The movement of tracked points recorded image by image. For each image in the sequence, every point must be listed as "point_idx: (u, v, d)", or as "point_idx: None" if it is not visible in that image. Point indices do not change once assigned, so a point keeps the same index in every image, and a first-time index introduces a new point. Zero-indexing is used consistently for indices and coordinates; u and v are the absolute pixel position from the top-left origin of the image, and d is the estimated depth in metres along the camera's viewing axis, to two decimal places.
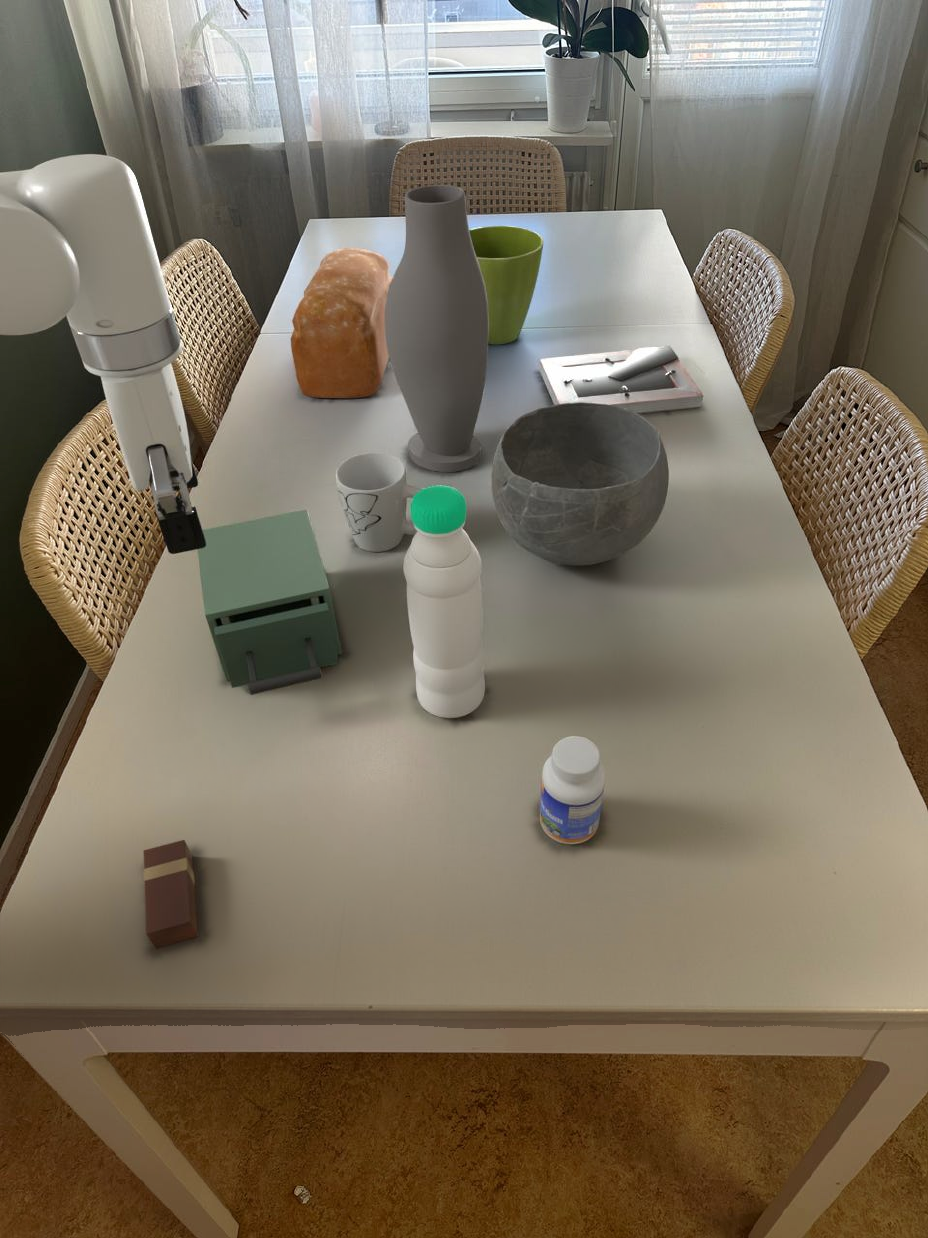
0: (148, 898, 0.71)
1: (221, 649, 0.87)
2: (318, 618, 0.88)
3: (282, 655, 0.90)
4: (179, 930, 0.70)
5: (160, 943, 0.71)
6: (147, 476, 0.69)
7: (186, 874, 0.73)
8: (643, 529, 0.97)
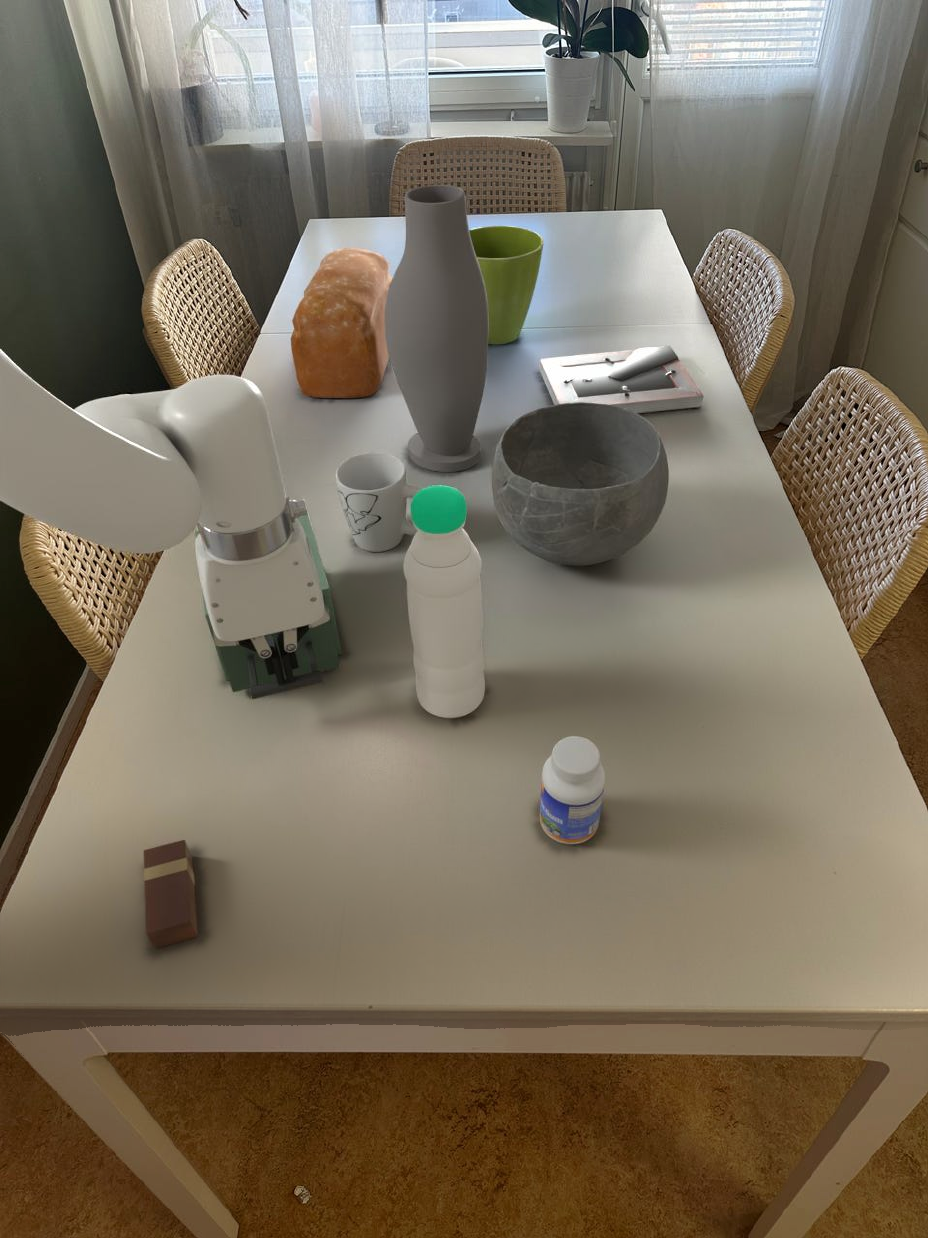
0: (148, 898, 0.71)
1: (222, 653, 0.86)
2: None
3: None
4: (179, 930, 0.70)
5: (160, 943, 0.71)
6: None
7: (186, 874, 0.73)
8: (643, 529, 0.97)
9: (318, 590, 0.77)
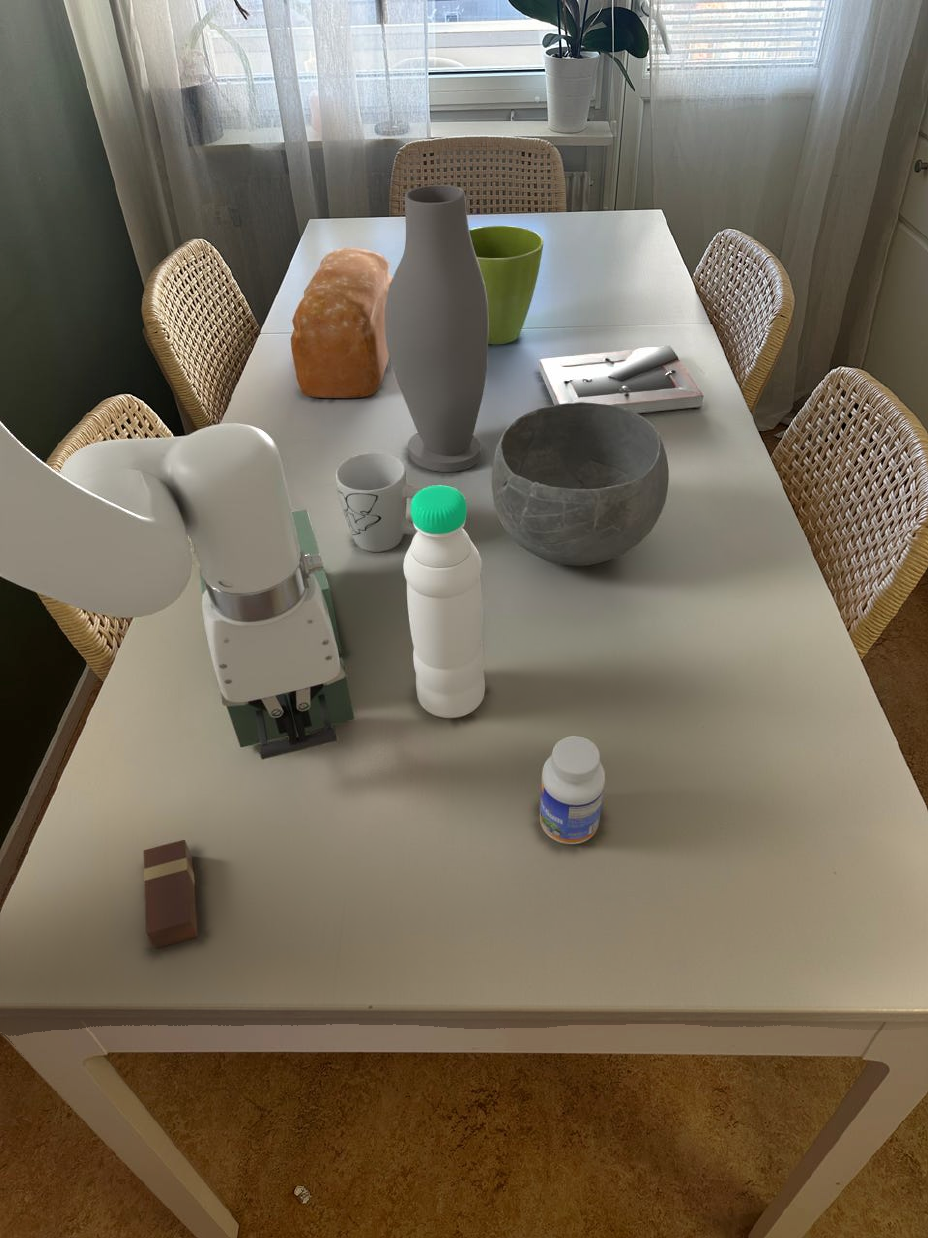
0: (148, 898, 0.71)
1: (229, 709, 0.81)
2: None
3: None
4: (179, 930, 0.70)
5: (160, 943, 0.71)
6: None
7: (186, 874, 0.73)
8: (643, 529, 0.97)
9: (334, 648, 0.72)
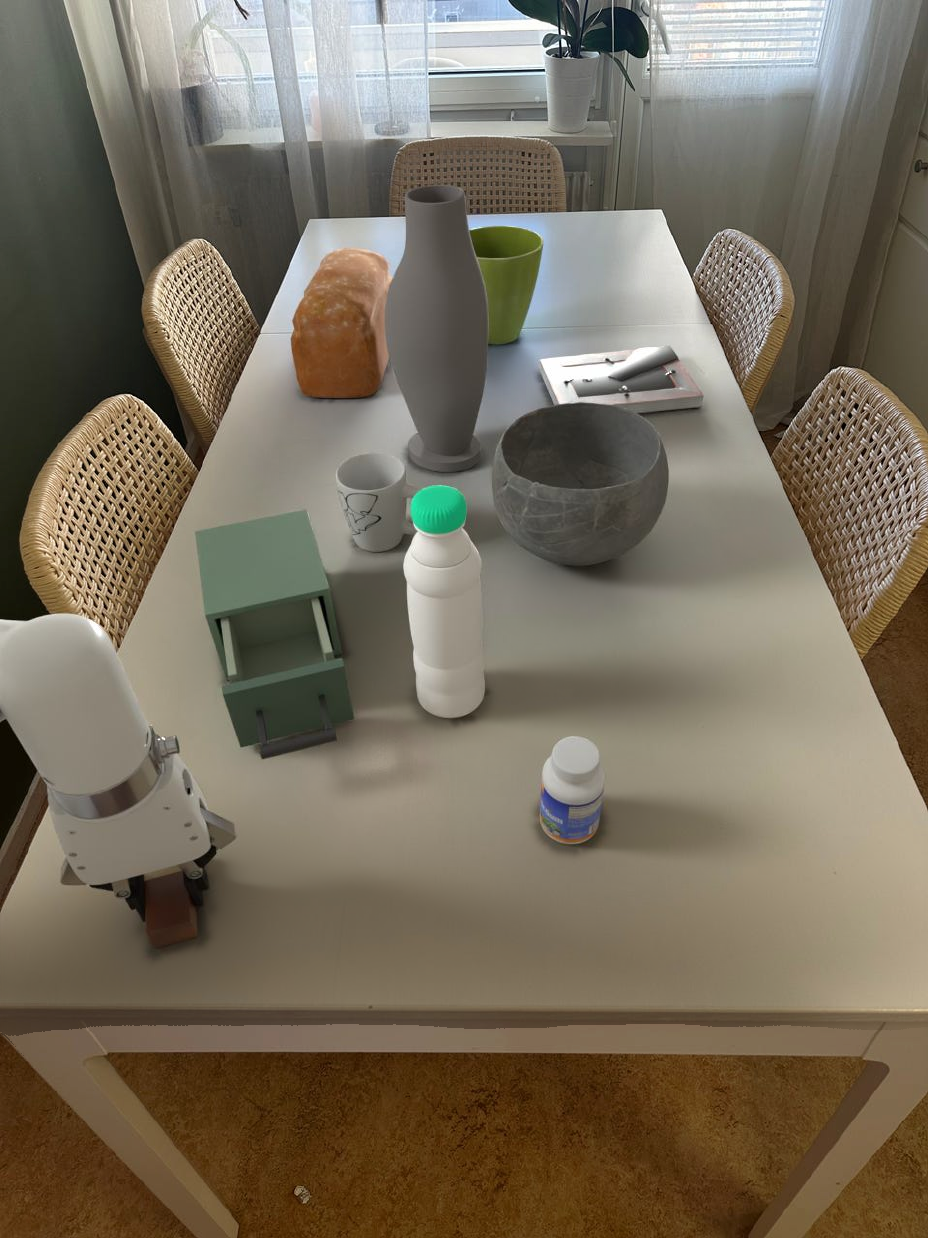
0: (148, 898, 0.71)
1: (229, 709, 0.81)
2: (332, 674, 0.82)
3: (294, 713, 0.84)
4: (179, 930, 0.70)
5: (160, 943, 0.71)
6: None
7: None
8: (643, 529, 0.97)
9: (199, 828, 0.66)
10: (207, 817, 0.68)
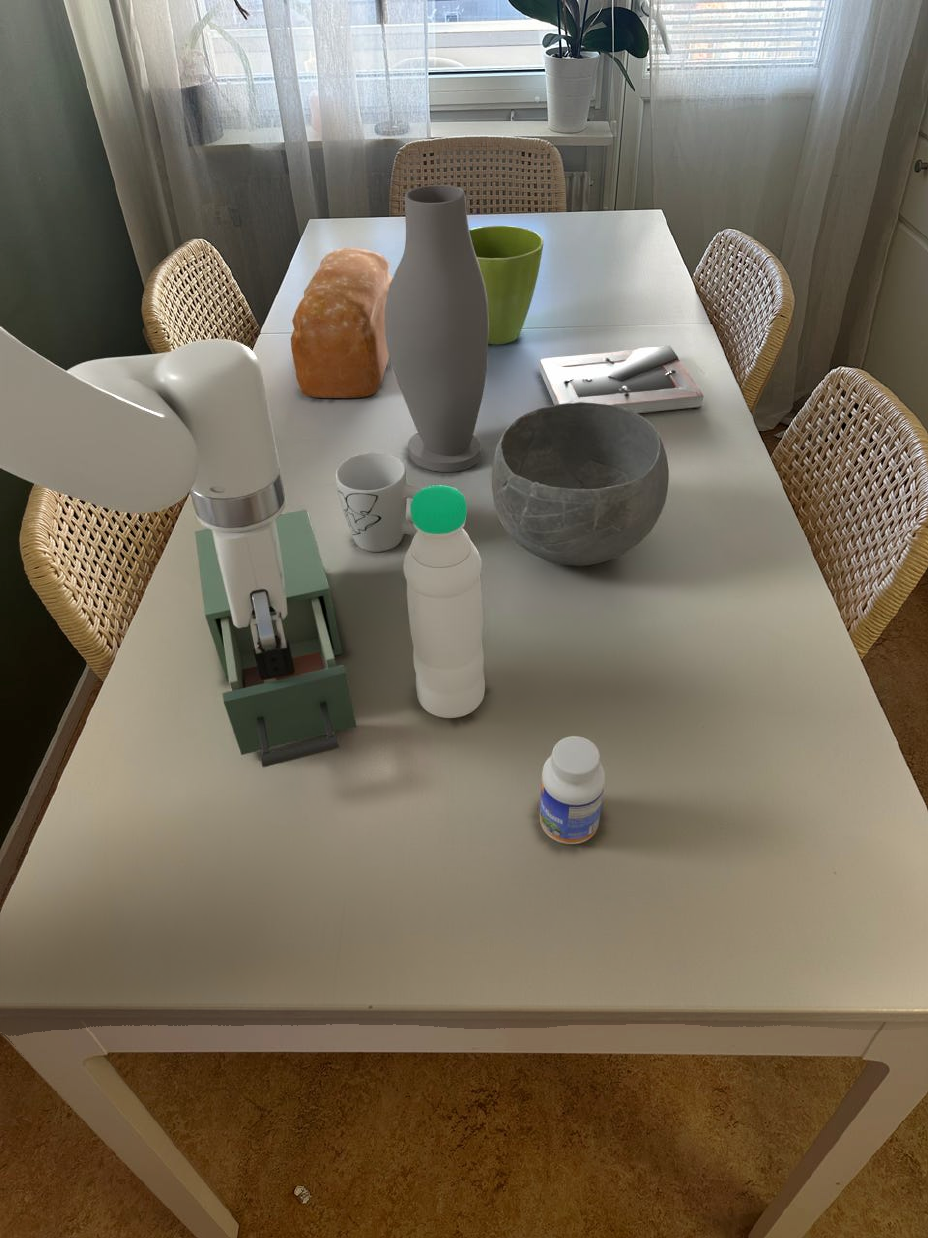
0: None
1: (230, 716, 0.80)
2: (334, 681, 0.81)
3: (295, 720, 0.83)
4: None
5: None
6: (249, 616, 0.75)
7: None
8: (643, 529, 0.97)
9: None
10: None
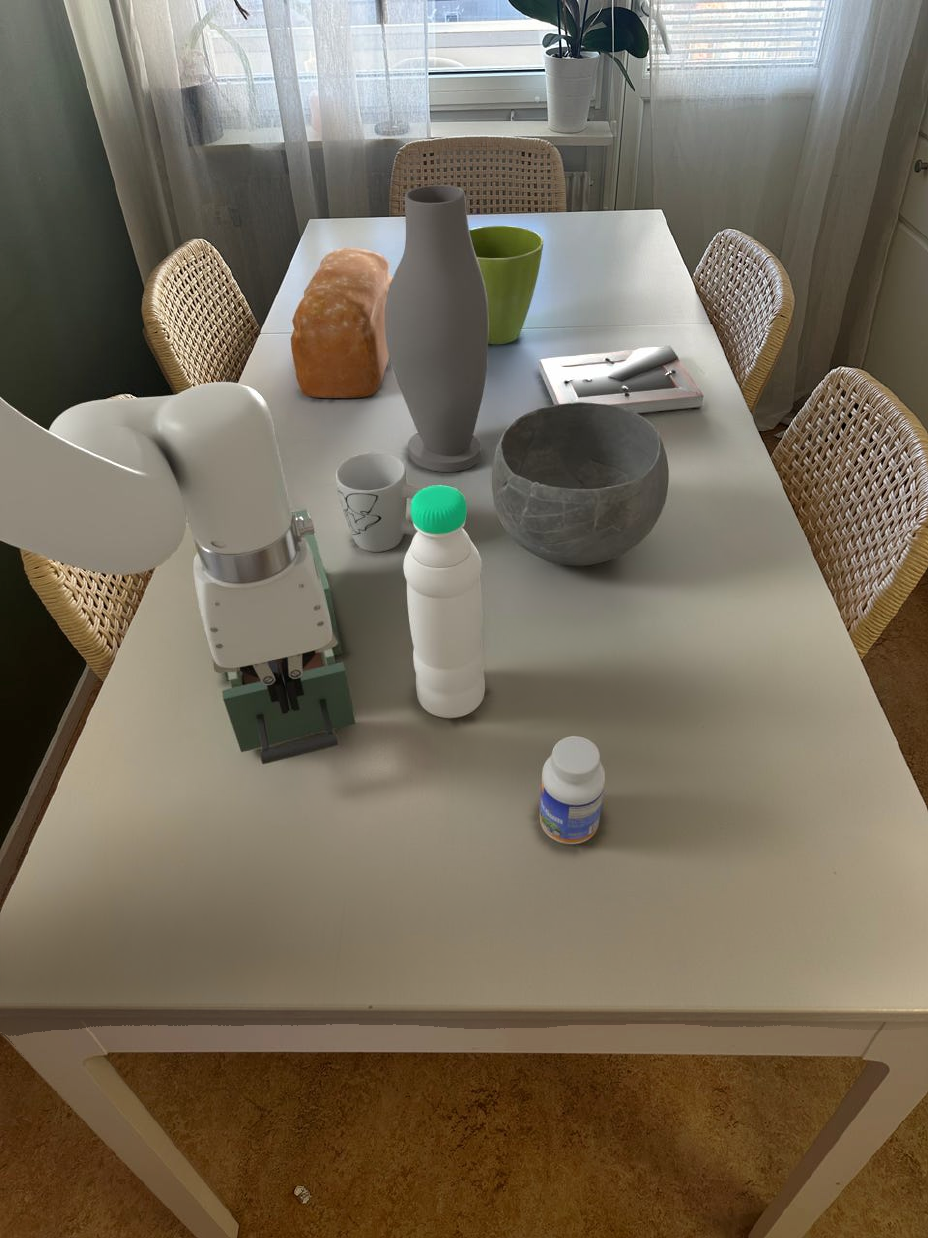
0: None
1: (230, 713, 0.81)
2: (333, 679, 0.82)
3: (295, 718, 0.83)
4: None
5: None
6: None
7: (276, 659, 0.88)
8: (643, 529, 0.97)
9: (326, 614, 0.71)
10: None
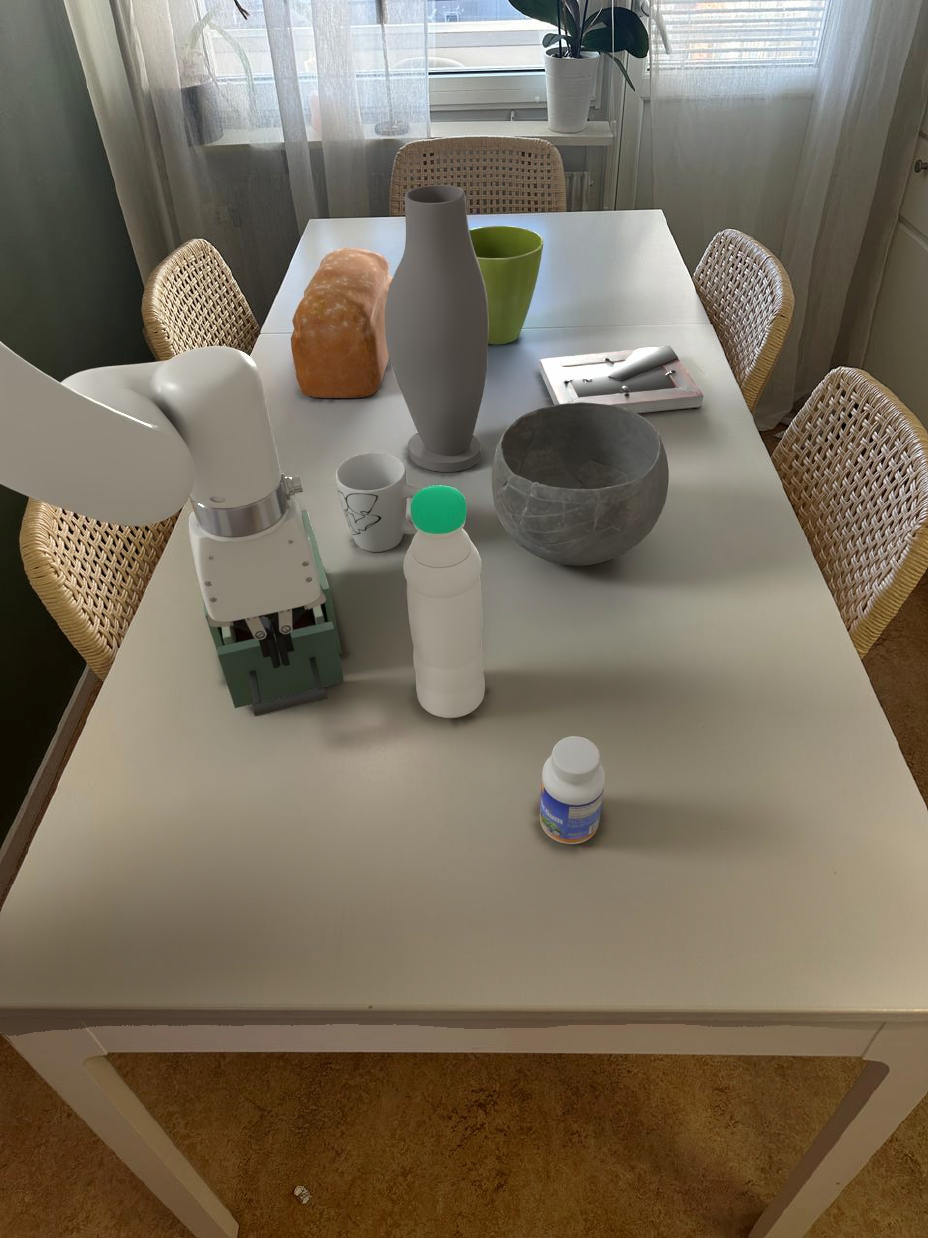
0: None
1: (224, 669, 0.85)
2: (323, 637, 0.86)
3: (286, 675, 0.88)
4: None
5: None
6: None
7: None
8: (643, 529, 0.97)
9: (314, 570, 0.76)
10: None
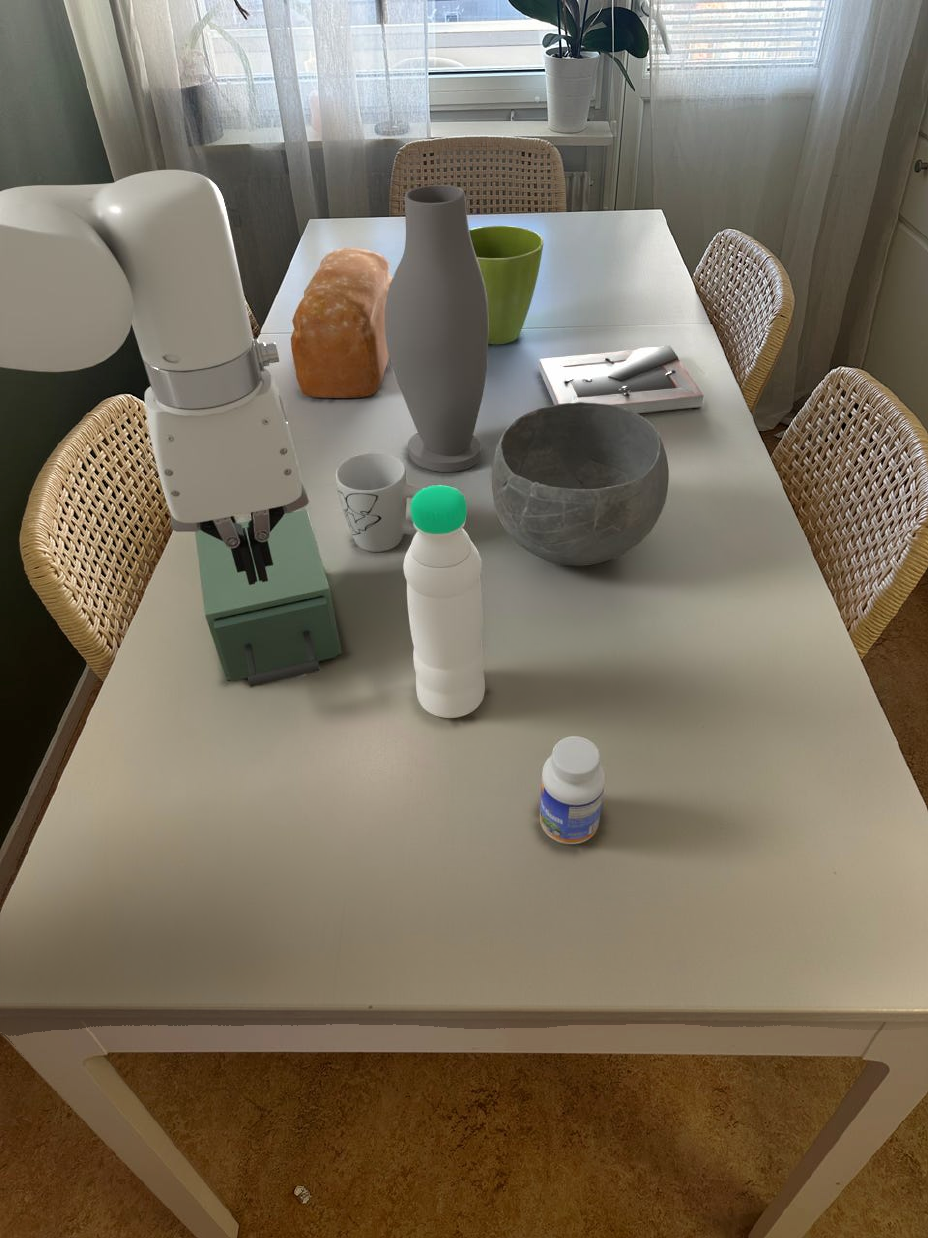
0: None
1: (220, 642, 0.88)
2: (316, 611, 0.89)
3: (281, 649, 0.91)
4: None
5: None
6: None
7: None
8: (643, 529, 0.97)
9: (293, 461, 0.65)
10: None
